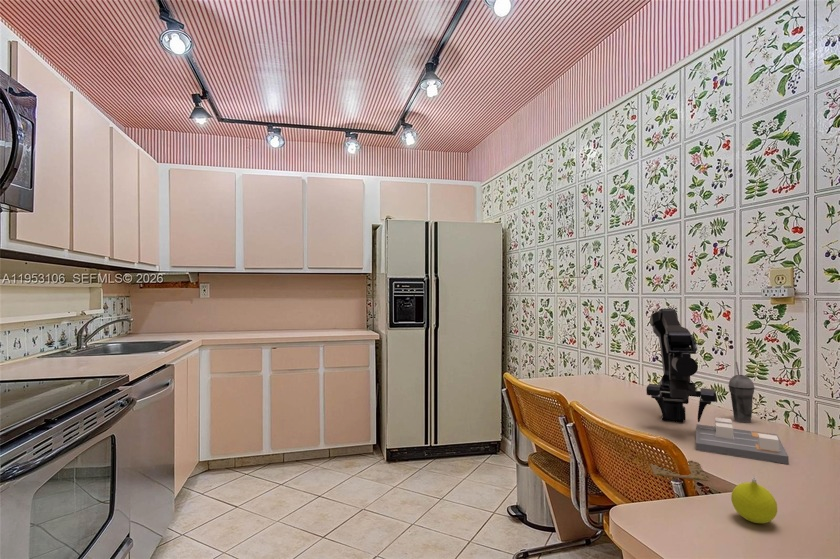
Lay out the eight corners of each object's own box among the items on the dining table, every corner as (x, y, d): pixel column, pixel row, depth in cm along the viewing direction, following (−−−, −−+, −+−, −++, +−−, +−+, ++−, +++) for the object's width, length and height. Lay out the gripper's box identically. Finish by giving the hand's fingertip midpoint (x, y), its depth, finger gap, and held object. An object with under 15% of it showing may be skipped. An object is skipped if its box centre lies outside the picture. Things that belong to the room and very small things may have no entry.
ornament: (753, 532, 80) (751, 477, 80) (723, 513, 87) (721, 463, 87) (788, 529, 81) (785, 475, 81) (755, 510, 88) (753, 461, 88)
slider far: (715, 430, 130) (715, 420, 130) (715, 427, 134) (715, 417, 134) (732, 432, 128) (731, 422, 128) (731, 429, 131) (731, 419, 132)
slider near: (760, 448, 115) (759, 437, 115) (758, 444, 118) (757, 433, 118) (779, 451, 113) (778, 440, 113) (777, 447, 116) (776, 435, 116)
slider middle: (716, 436, 125) (716, 426, 125) (716, 432, 129) (715, 422, 129) (733, 438, 123) (733, 428, 123) (732, 434, 126) (732, 424, 127)
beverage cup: (761, 424, 142) (758, 363, 143) (736, 423, 144) (733, 363, 145) (749, 418, 150) (746, 360, 150) (725, 417, 151) (723, 360, 152)
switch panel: (695, 450, 121) (695, 442, 121) (696, 430, 138) (696, 423, 138) (788, 464, 110) (788, 455, 110) (777, 441, 127) (777, 433, 127)
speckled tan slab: (646, 458, 117) (646, 454, 117) (698, 464, 113) (698, 460, 113) (652, 476, 106) (652, 472, 106) (710, 483, 101) (710, 479, 101)
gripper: (643, 371, 136) (645, 421, 135) (715, 377, 126) (717, 431, 125) (647, 366, 145) (649, 413, 145) (714, 371, 135) (716, 421, 134)
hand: (681, 419), depth 137 cm, fingers open, 9 cm apart
